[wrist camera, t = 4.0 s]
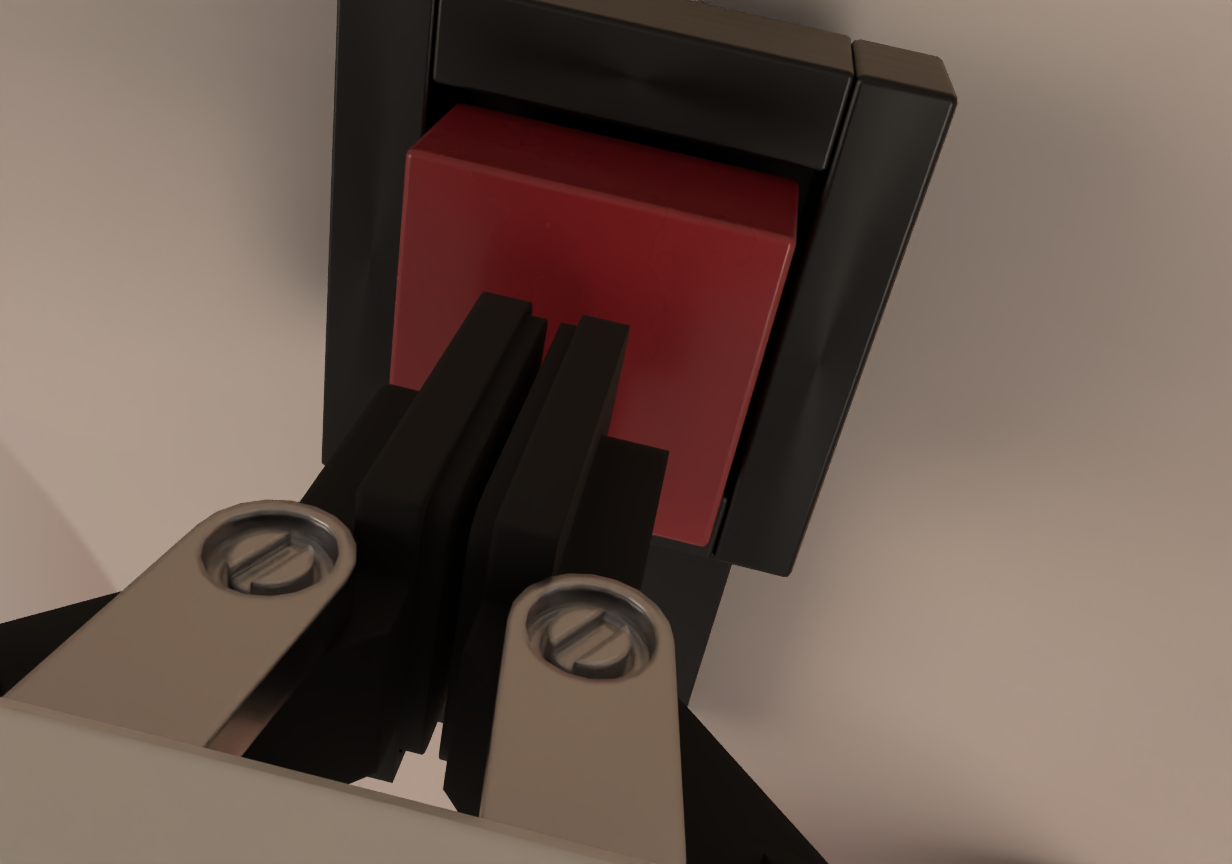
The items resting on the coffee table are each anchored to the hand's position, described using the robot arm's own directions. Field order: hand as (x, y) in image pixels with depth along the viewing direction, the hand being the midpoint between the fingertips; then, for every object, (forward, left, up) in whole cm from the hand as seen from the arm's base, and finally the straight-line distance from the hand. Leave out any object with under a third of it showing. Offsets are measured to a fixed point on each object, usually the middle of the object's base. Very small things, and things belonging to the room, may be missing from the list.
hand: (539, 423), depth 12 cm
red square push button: (0, 0, -3) cm, 3 cm away
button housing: (+4, +1, -7) cm, 8 cm away
